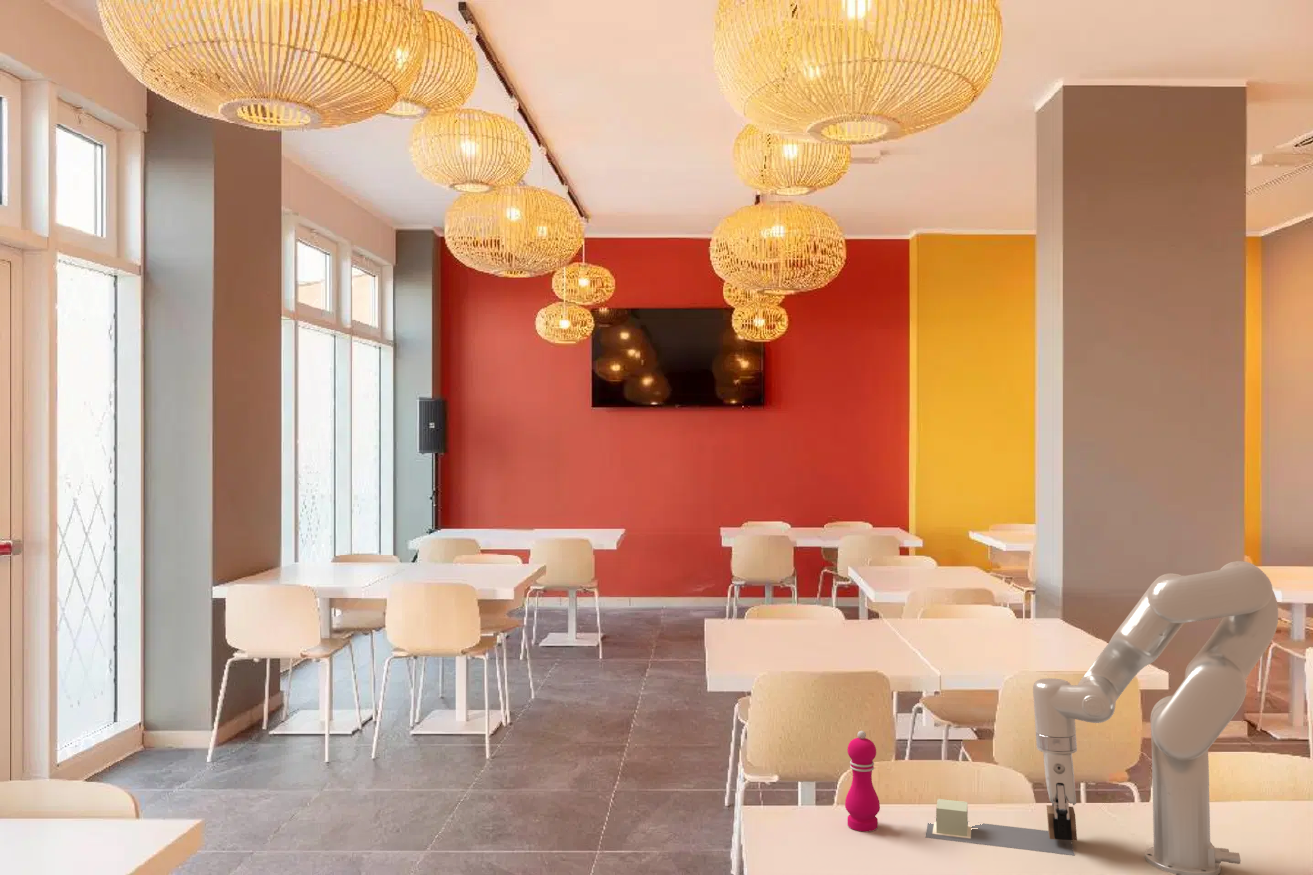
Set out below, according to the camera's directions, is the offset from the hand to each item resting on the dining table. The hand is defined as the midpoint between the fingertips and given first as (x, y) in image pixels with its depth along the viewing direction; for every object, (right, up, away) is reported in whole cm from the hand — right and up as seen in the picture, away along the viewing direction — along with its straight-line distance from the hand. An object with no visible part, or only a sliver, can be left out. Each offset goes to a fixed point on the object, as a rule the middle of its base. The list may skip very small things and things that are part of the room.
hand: (1062, 832), depth 189 cm
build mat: (-11, -3, +4) cm, 12 cm away
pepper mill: (-38, -3, +10) cm, 39 cm away
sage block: (-20, -2, +7) cm, 21 cm away
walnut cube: (0, 0, 0) cm, 0 cm away
